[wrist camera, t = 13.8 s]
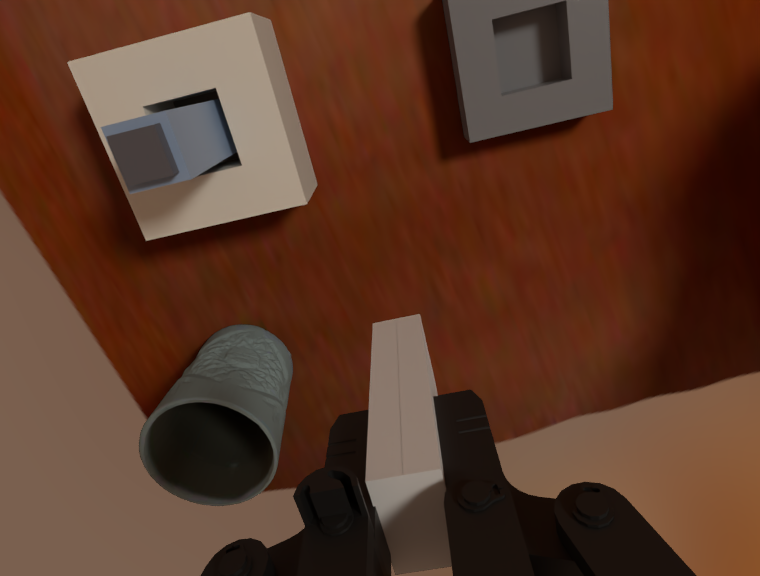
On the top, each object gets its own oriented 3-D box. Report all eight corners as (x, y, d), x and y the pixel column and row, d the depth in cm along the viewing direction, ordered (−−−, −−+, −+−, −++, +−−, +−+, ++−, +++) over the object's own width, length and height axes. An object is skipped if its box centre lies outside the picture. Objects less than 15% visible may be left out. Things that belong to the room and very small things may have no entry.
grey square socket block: (587, -49, 34) (605, -58, 31) (596, 105, 38) (612, 109, 35) (440, -9, 35) (445, -15, 32) (464, 137, 39) (470, 142, 36)
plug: (230, 96, 37) (158, 111, 25) (247, 145, 38) (186, 182, 27) (184, 107, 37) (92, 128, 25) (202, 156, 39) (122, 197, 27)
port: (270, 19, 36) (249, 12, 30) (317, 184, 40) (306, 204, 35) (114, 62, 37) (67, 62, 32) (177, 217, 42) (145, 240, 36)
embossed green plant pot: (264, 300, 45) (225, 377, 34) (323, 384, 48) (304, 479, 37) (172, 346, 47) (107, 433, 36) (235, 424, 50) (193, 525, 39)
